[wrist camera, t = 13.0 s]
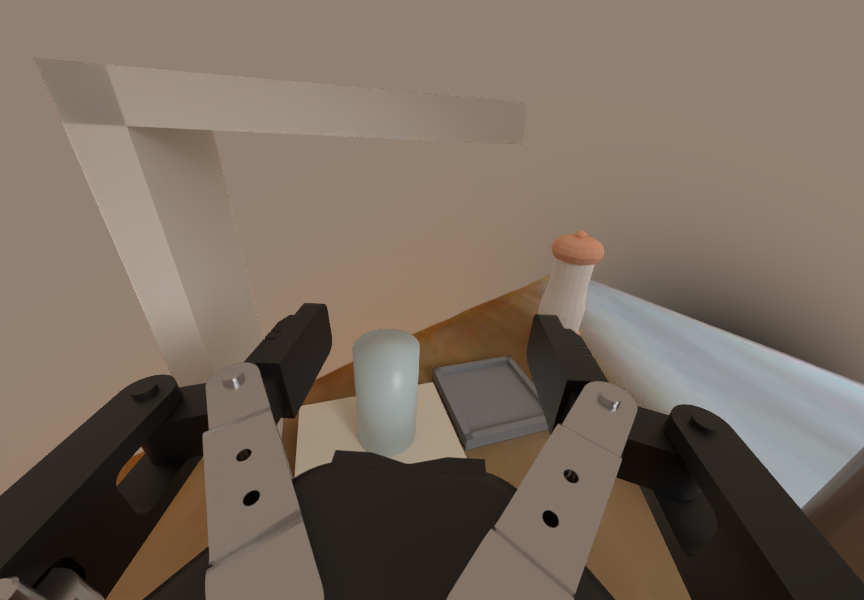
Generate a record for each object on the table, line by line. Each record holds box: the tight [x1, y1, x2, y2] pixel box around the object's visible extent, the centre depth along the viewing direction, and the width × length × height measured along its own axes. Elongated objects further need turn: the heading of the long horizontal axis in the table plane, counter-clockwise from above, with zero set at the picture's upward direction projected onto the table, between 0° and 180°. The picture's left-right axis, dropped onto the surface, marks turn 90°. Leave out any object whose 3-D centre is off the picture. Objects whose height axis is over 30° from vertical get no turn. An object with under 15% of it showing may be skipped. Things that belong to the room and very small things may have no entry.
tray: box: [433, 356, 549, 450], centre depth 41 cm, size 12×12×2 cm
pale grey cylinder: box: [353, 329, 420, 457], centre depth 31 cm, size 6×6×11 cm
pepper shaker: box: [538, 231, 604, 335], centre depth 49 cm, size 7×7×19 cm
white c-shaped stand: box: [34, 58, 528, 477], centre depth 26 cm, size 20×12×32 cm, turn 107°
